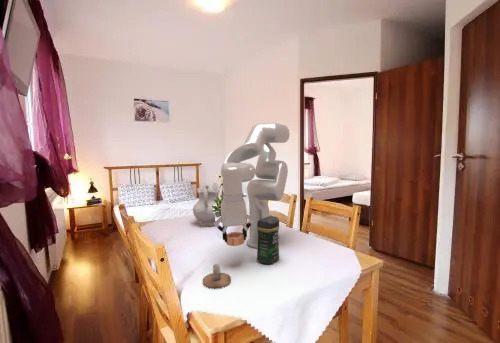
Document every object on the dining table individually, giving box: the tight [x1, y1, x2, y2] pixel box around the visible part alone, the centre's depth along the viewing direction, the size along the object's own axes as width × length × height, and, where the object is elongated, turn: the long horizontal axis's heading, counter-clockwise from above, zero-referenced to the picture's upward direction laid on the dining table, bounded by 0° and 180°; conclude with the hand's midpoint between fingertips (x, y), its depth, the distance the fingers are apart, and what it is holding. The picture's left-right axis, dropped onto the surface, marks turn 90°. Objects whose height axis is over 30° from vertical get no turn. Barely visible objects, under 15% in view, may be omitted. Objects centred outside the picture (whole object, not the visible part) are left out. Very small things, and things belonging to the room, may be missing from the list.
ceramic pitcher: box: [192, 182, 221, 227], centre depth 170 cm, size 22×20×25 cm
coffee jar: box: [256, 215, 280, 265], centre depth 118 cm, size 10×8×19 cm
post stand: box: [202, 263, 232, 290], centre depth 101 cm, size 10×10×6 cm
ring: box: [226, 231, 245, 247], centre depth 114 cm, size 7×7×3 cm
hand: (235, 239), depth 114 cm, fingers closed on ring, 7 cm apart
